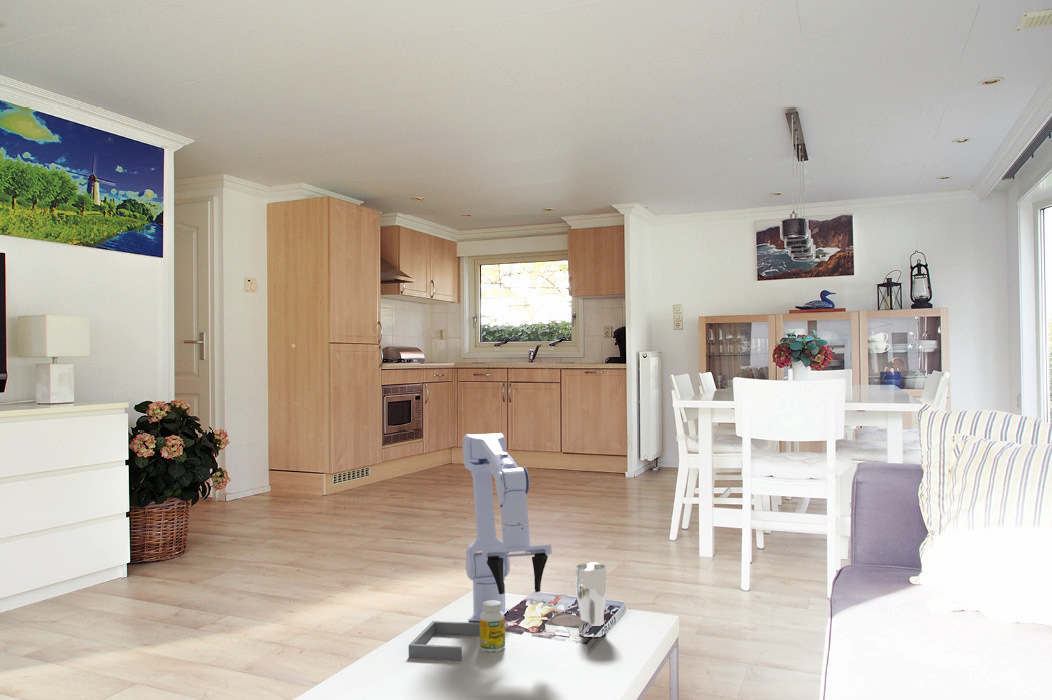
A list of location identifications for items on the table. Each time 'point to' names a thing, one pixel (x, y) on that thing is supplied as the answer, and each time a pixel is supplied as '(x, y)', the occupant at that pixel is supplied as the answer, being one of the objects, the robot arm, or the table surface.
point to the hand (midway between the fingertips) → (519, 592)
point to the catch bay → (437, 651)
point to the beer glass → (591, 592)
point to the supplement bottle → (492, 626)
